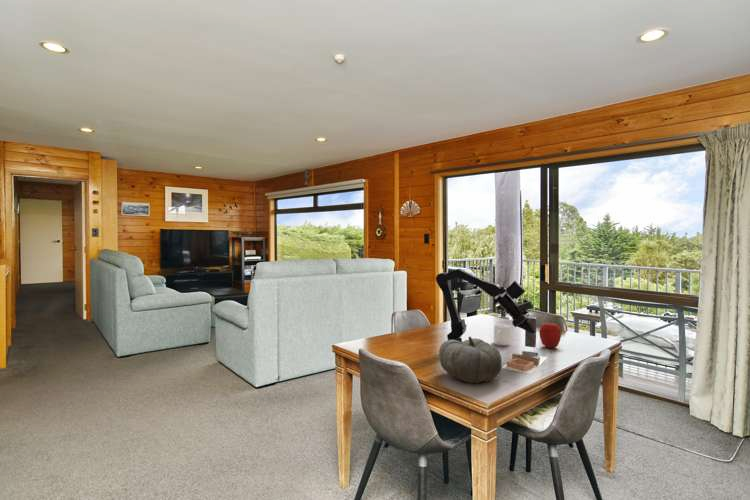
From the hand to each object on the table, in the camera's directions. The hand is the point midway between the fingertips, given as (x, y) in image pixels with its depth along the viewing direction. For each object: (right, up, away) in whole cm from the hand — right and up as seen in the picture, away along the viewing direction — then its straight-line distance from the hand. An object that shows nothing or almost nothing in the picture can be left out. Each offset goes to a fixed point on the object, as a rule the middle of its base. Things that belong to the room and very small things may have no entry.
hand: (534, 331), depth 178 cm
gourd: (-34, -14, -21) cm, 43 cm away
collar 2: (-1, -12, +1) cm, 13 cm away
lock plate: (-6, -14, -5) cm, 16 cm away
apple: (+18, -13, +23) cm, 32 cm away
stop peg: (-1, -7, +1) cm, 7 cm away
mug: (-7, -13, +26) cm, 30 cm away
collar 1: (-10, -13, -11) cm, 20 cm away
